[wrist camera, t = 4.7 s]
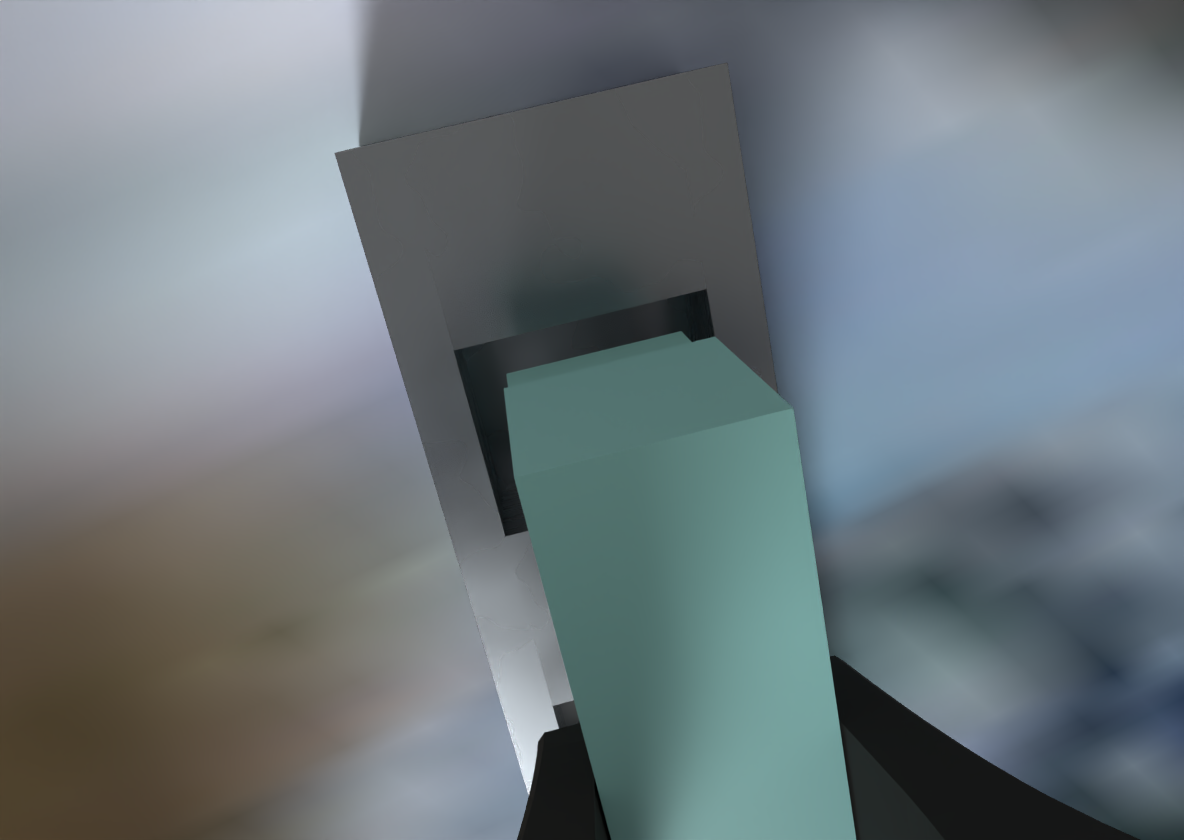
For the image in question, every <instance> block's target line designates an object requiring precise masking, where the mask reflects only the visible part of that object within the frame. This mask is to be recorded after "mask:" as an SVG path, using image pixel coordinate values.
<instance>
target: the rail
mask: <svg viewBox="0 0 1184 840" xmlns="http://www.w3.org/2000/svg"><path fill="white" fill-rule="evenodd" d="M335 156H336V159H337V162H338V166H339V169H340V172H341V176H342V179H343V182H344V186H345V189H346V192H347V195H348V199H349V202H350V205H351V209H352V212H353V215H354V219H355V222H356V225H357V229H358V232H359V235H360V239H361V242H362V245H363V248H364V252H365V255H366V258H367V262H368V265H369V268H370V272H371V275H372V278H373V282H374V285H375V288H376V292H377V295H378V298H379V301H380V305H381V308H382V311H383V315H384V318H385V321H386V325H387V328H388V331H389V335H390V338H391V341H392V345H393V348H394V351H395V354H396V358H397V361H398V364H399V368H400V371H401V374H402V378H403V381H404V384H405V388H406V391H407V394H408V398H409V401H410V404H411V407H412V411H413V414H414V417H415V421H416V424H417V427H418V431H419V434H420V437H421V441H422V444H423V447H424V451H425V454H426V457H427V460H428V464H429V467H430V470H431V474H432V477H433V480H434V484H435V487H436V490H437V494H438V497H439V500H440V504H441V507H442V510H443V513H444V517H445V520H446V523H447V527H448V530H449V533H450V537H451V540H452V543H453V547H454V550H455V553H456V557H457V560H458V563H459V566H460V570H461V573H462V576H463V580H464V583H465V586H466V590H467V593H468V596H469V600H470V603H471V606H472V610H473V613H474V616H475V619H476V623H477V626H478V629H479V633H480V636H481V639H482V643H483V646H484V649H485V653H486V656H487V659H488V663H489V666H490V669H491V672H492V676H493V679H494V682H495V686H496V689H497V692H498V696H499V699H500V702H501V706H502V709H503V712H504V716H505V719H506V722H507V725H508V729H509V732H510V735H511V739H512V742H513V745H514V749H515V752H516V755H517V759H518V762H519V765H520V769H521V772H522V775H523V778H524V782H525V785H526V788H527V792H528V795H529V793H530V789H531V784H532V779H533V774H534V769H535V763H536V757H537V747H538V741H539V740H540V738H541V737H542V735H543V734H544V732H548V731H552V730H556V729H559V728H563V727H567V726H571V725H574V724H578V723H580V721H579V718H578V714H577V710H576V706H575V703H574V699H573V695H572V692H571V688H570V684H569V680H568V677H567V673H566V669H565V665H564V662H563V658H562V654H561V651H560V647H559V643H558V639H557V636H556V632H555V628H554V624H553V621H552V617H551V613H550V610H549V606H548V602H547V598H546V595H545V591H544V587H543V583H542V580H541V576H540V572H539V569H538V565H537V561H536V557H535V554H534V550H533V546H532V542H531V539H530V535H529V531H528V528H527V524H526V520H525V516H524V513H523V509H522V505H521V501H520V498H519V494H518V490H517V487H516V483H515V479H514V472H513V464H512V455H511V447H510V438H509V430H508V421H507V413H506V404H505V396H504V388H507V387H508V383H507V375H506V374H508V373H512V372H516V371H520V370H524V369H528V368H532V367H536V366H540V365H544V364H549V363H553V362H557V361H561V360H565V359H569V358H573V357H577V356H581V355H585V354H589V353H594V352H598V351H602V350H606V349H610V348H614V347H618V346H622V345H626V344H630V343H634V342H639V341H643V340H647V339H651V338H655V337H659V336H663V335H667V334H671V333H675V332H679V331H682V332H683V334H684V335H685V336H686V337H687V338H688V339H689V340H690V341H691V342H695V341H699V340H703V339H707V338H711V337H716V338H717V339H718V340H719V341H721V342H722V343H723V344H724V345H725V346H726V347H727V348H728V349H729V350H730V351H732V352H733V353H734V354H735V355H736V356H737V357H738V358H739V359H740V360H741V361H742V362H744V363H745V364H746V365H747V366H748V367H749V368H750V369H751V370H752V371H753V372H754V373H756V374H757V375H758V376H759V377H760V378H761V379H762V380H763V381H764V382H765V383H767V384H768V385H769V386H770V387H771V388H772V389H773V390H774V391H775V392H776V393H777V394H778V391H777V385H776V378H775V372H774V365H773V359H772V352H771V345H770V339H769V332H768V326H767V319H766V313H765V306H764V300H763V293H762V286H761V280H760V273H759V267H758V260H757V254H756V247H755V241H754V234H753V227H752V221H751V214H750V208H749V201H748V195H747V188H746V182H745V175H744V168H743V162H742V155H741V149H740V142H739V136H738V129H737V123H736V116H735V109H734V103H733V96H732V90H731V83H730V77H729V70H728V64H727V63H724V64H719V65H715V66H710V67H706V68H701V69H696V70H692V71H687V72H683V73H678V74H674V75H670V76H665V77H661V78H657V79H652V80H648V81H644V82H639V83H635V84H631V85H626V86H622V87H617V88H613V89H609V90H604V91H600V92H596V93H591V94H587V95H583V96H578V97H574V98H570V99H565V100H561V101H557V102H552V103H548V104H544V105H539V106H535V107H531V108H526V109H522V110H518V111H513V112H509V113H504V114H500V115H496V116H491V117H487V118H483V119H478V120H474V121H470V122H465V123H461V124H457V125H452V126H448V127H444V128H439V129H435V130H431V131H426V132H422V133H418V134H413V135H409V136H404V137H400V138H396V139H391V140H387V141H383V142H378V143H374V144H370V145H365V146H361V147H357V148H353V149H349V150H345V151H341V152H337V153H335Z"/></svg>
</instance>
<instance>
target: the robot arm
mask: <svg viewBox="0 0 1184 840" xmlns="http://www.w3.org/2000/svg"><path fill="white" fill-rule="evenodd" d="M830 663H831V670H832V677H833V684H834V690H835V697H836V704H837V711H838V718H839V725H840V732H841V738H842V745H843V752H844V759H845V766H846V773H847V780H848V786H849V793H850V800H851V807H852V814H853V821H854V828H855V834H856V840H1140V839H1137V838H1135V837H1133V836H1131V835H1128V834H1126V833H1124V832H1122V831H1119V830H1117V829H1115V828H1113V827H1111V826H1108V825H1106V824H1104V823H1102V822H1100V821H1098V820H1096V819H1094V818H1092V817H1090V816H1088V815H1086V814H1084V813H1082V812H1080V811H1078V810H1076V809H1074V808H1072V807H1070V806H1067V805H1065V804H1063V803H1061V802H1059V801H1057V800H1055V799H1053V798H1051V797H1049V796H1047V795H1046V794H1044V793H1042V792H1040V791H1038V790H1036V789H1035V788H1033V787H1031V786H1029V785H1027V784H1026V783H1024V782H1022V781H1020V780H1019V779H1017V778H1015V777H1014V776H1012V775H1010V774H1008V773H1007V772H1005V771H1003V770H1002V769H1000V768H998V767H997V766H995V765H993V764H991V763H990V762H988V761H986V760H985V759H983V758H982V757H980V756H978V755H977V754H975V753H974V752H972V751H970V750H969V749H967V748H966V747H964V746H963V745H961V744H960V743H958V742H957V741H955V740H954V739H952V738H951V737H949V736H948V735H946V734H945V733H943V732H941V731H940V730H938V729H937V728H935V727H934V726H932V725H931V724H929V723H928V722H926V721H925V720H923V719H922V718H921V717H919V716H918V715H916V714H915V713H913V712H912V711H911V710H909V709H908V708H906V707H905V706H904V705H902V704H901V703H899V702H898V701H897V700H895V699H894V698H892V697H891V696H890V695H888V694H887V693H885V692H884V691H883V690H881V689H880V688H879V687H877V686H876V685H875V684H873V683H872V682H871V681H869V680H868V679H867V678H865V677H864V676H863V675H861V674H860V673H859V672H857V671H856V670H855V669H853V668H852V667H851V666H849V665H848V664H847V663H845V662H844V661H843V660H841V659H839V658H838V657H836V656H831V657H830ZM517 840H611V837H610V833H609V829H608V826H607V822H606V818H605V815H604V811H603V807H602V803H601V800H600V796H599V792H598V788H597V785H596V781H595V777H594V774H593V770H592V766H591V762H590V759H589V755H588V751H587V747H586V744H585V740H584V736H583V733H582V729H581V725H580V723H578V724H574V725H571V726H567V727H563V728H559V729H556V730H552V731H548V732H544V734H543V735H542V737H541V738H540V740H539V741H538V747H537V757H536V763H535V769H534V774H533V779H532V784H531V789H530V793H529V797H528V802H527V806H526V810H525V814H524V817H523V821H522V824H521V828H520V831H519V835H518V838H517Z"/></svg>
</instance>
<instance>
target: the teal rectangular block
mask: <svg viewBox="0 0 1184 840" xmlns="http://www.w3.org/2000/svg"><path fill="white" fill-rule="evenodd" d="M506 375H507V383H508V387H507V388H504V396H505V404H506V413H507V421H508V430H509V438H510V447H511V455H512V464H513V472H514V479H515V483H516V487H517V490H518V494H519V498H520V501H521V505H522V509H523V513H524V516H525V520H526V524H527V528H528V531H529V535H530V539H531V542H532V546H533V550H534V554H535V557H536V561H537V565H538V569H539V572H540V576H541V580H542V583H543V587H544V591H545V595H546V598H547V602H548V606H549V610H550V613H551V617H552V621H553V624H554V628H555V632H556V636H557V639H558V643H559V647H560V651H561V654H562V658H563V662H564V665H565V669H566V673H567V677H568V680H569V684H570V688H571V692H572V695H573V699H574V703H575V706H576V710H577V714H578V718H579V721H580V725H581V729H582V733H583V736H584V740H585V744H586V747H587V751H588V755H589V759H590V762H591V766H592V770H593V774H594V777H595V781H596V785H597V788H598V792H599V796H600V800H601V803H602V807H603V811H604V815H605V818H606V822H607V826H608V829H609V833H610V837H611V840H856V834H855V828H854V821H853V814H852V807H851V800H850V793H849V786H848V780H847V773H846V766H845V759H844V752H843V745H842V738H841V732H840V725H839V718H838V711H837V704H836V697H835V690H834V684H833V677H832V670H831V663H830V656H829V649H828V642H827V636H826V629H825V622H824V615H823V608H822V601H821V594H820V588H819V581H818V574H817V567H816V560H815V553H814V546H813V540H812V533H811V526H810V519H809V512H808V505H807V498H806V491H805V485H804V478H803V471H802V464H801V457H800V450H799V443H798V437H797V430H796V423H795V416H794V409H793V407H792V406H791V405H790V404H788V403H787V402H786V401H785V400H784V399H783V398H782V397H781V396H780V395H779V394H777V393H776V392H775V391H774V390H773V389H772V388H771V387H770V386H769V385H768V384H767V383H765V382H764V381H763V380H762V379H761V378H760V377H759V376H758V375H757V374H756V373H754V372H753V371H752V370H751V369H750V368H749V367H748V366H747V365H746V364H745V363H744V362H742V361H741V360H740V359H739V358H738V357H737V356H736V355H735V354H734V353H733V352H732V351H730V350H729V349H728V348H727V347H726V346H725V345H724V344H723V343H722V342H721V341H719V340H718V339H717V338H716V337H711V338H707V339H703V340H699V341H695V342H691V341H690V340H689V339H688V338H687V337H686V336H685V335H684V334H683V332H682V331H679V332H675V333H671V334H667V335H663V336H659V337H655V338H651V339H647V340H643V341H639V342H634V343H630V344H626V345H622V346H618V347H614V348H610V349H606V350H602V351H598V352H594V353H589V354H585V355H581V356H577V357H573V358H569V359H565V360H561V361H557V362H553V363H549V364H544V365H540V366H536V367H532V368H528V369H524V370H520V371H516V372H512V373H508V374H506Z"/></svg>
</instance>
